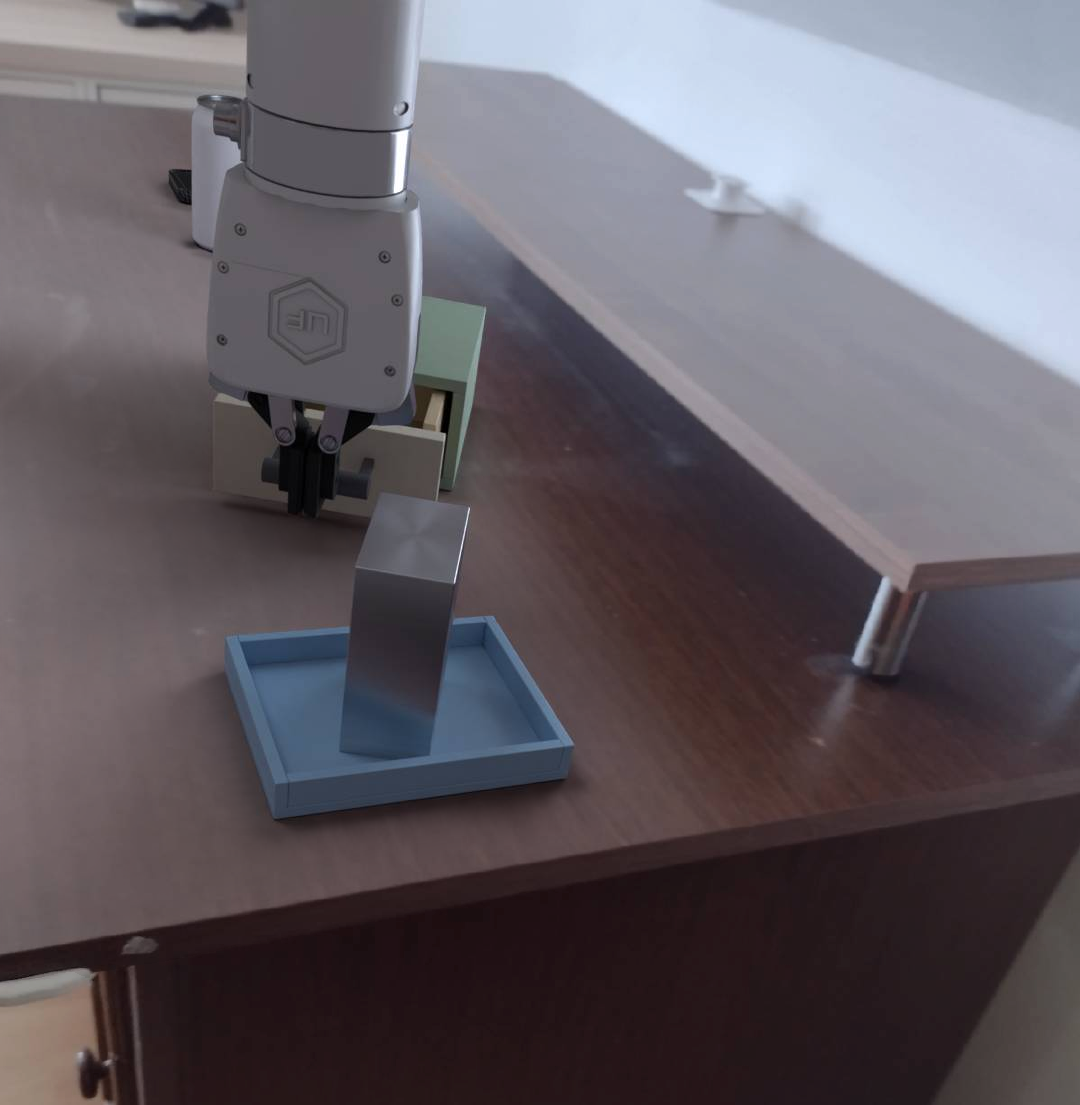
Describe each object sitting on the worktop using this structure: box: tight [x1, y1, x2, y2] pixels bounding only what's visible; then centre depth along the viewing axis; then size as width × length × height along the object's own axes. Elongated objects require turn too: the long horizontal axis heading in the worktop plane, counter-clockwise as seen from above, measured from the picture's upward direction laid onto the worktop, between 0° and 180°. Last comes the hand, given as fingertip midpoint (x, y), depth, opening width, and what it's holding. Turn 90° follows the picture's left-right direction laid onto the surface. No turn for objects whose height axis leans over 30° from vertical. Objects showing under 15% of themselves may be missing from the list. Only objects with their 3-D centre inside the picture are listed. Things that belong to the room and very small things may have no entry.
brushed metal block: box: [339, 492, 471, 760], centre depth 55 cm, size 4×7×10 cm, turn 177°
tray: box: [224, 615, 575, 820], centre depth 58 cm, size 14×11×2 cm
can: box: [191, 94, 244, 253], centre depth 107 cm, size 6×6×12 cm
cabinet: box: [413, 294, 487, 492], centre depth 82 cm, size 15×15×8 cm
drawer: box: [212, 385, 451, 519], centre depth 75 cm, size 17×13×6 cm
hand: (307, 504), depth 66 cm, fingers closed
